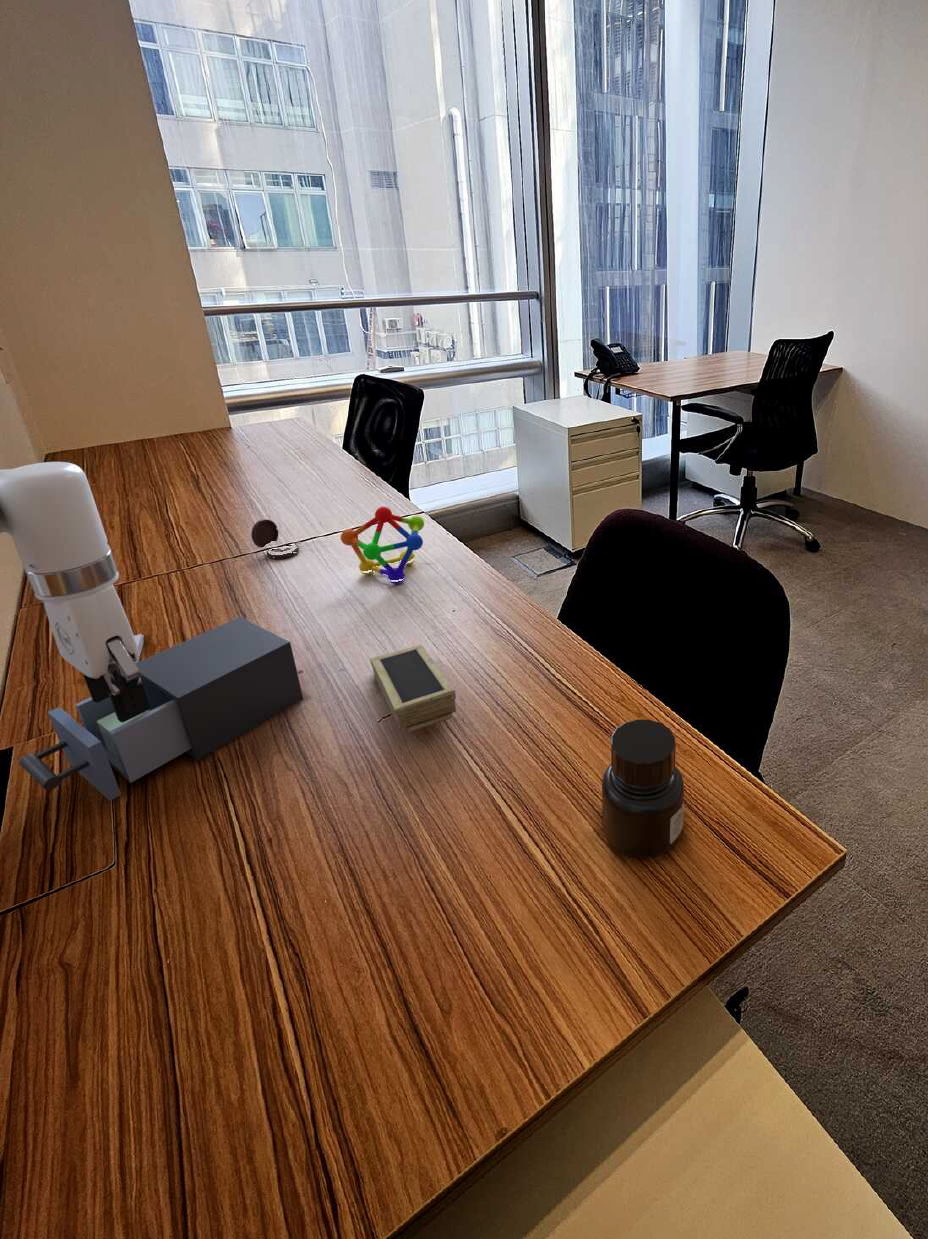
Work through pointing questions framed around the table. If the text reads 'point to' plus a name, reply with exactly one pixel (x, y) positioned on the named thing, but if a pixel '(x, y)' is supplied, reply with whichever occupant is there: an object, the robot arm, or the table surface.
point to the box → (414, 688)
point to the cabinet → (225, 681)
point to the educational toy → (374, 551)
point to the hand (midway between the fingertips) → (121, 704)
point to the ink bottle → (642, 790)
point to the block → (110, 724)
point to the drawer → (135, 742)
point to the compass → (269, 537)
